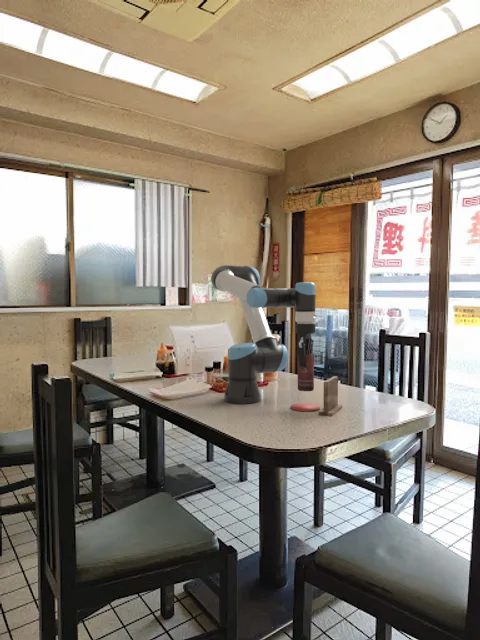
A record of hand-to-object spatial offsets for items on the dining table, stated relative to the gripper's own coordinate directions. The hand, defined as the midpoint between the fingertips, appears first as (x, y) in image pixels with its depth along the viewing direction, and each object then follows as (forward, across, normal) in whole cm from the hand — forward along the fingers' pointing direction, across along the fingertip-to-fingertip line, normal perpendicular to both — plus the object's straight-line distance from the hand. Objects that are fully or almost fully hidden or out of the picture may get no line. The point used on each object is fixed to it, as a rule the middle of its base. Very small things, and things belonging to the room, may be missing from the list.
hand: (305, 384), depth 170 cm
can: (+2, 0, 0) cm, 2 cm away
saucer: (+9, 0, 0) cm, 9 cm away
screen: (+9, 0, -10) cm, 13 cm away
